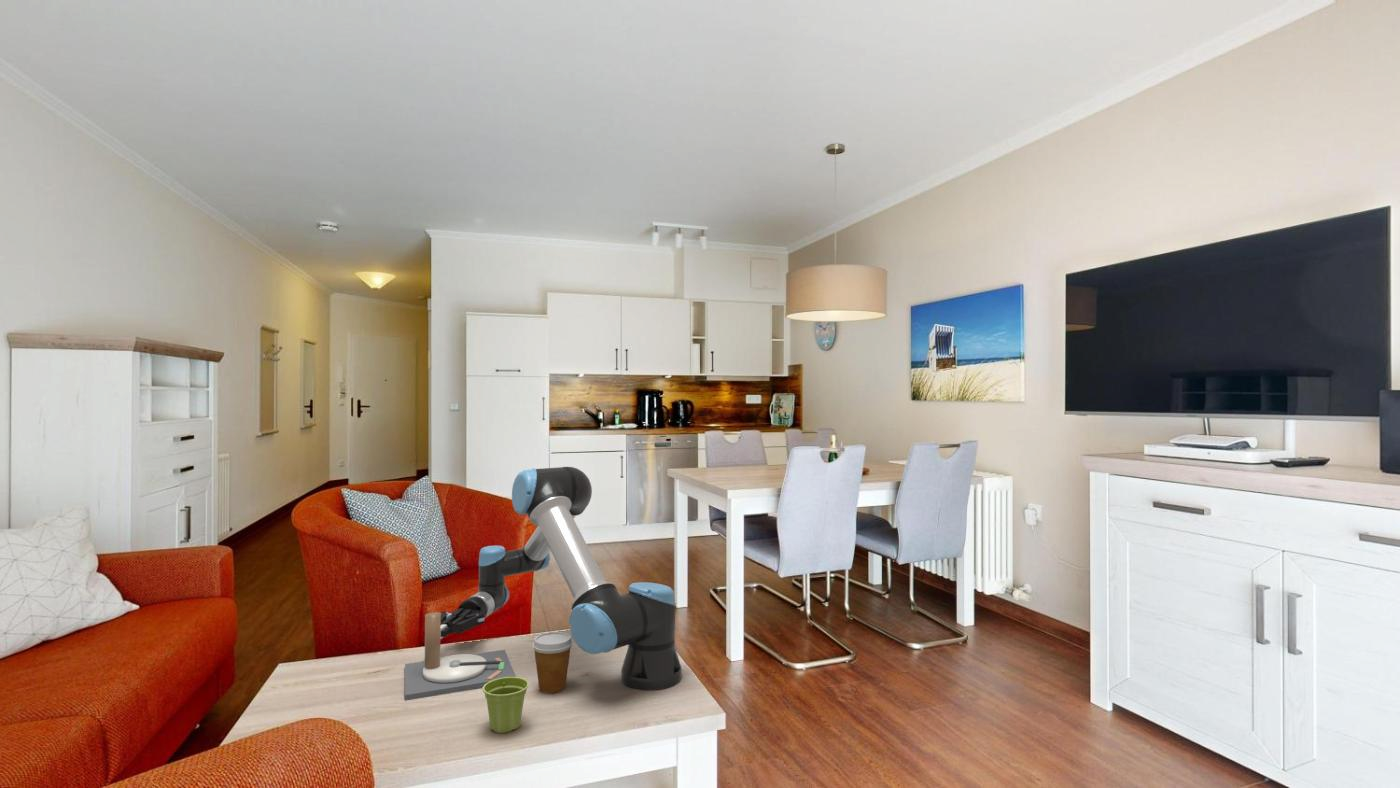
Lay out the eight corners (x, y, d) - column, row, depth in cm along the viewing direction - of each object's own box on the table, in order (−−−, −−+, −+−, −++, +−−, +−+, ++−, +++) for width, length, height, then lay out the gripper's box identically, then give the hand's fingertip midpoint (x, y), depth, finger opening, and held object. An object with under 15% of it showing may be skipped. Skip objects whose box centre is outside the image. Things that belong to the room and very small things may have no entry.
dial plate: (516, 682, 161) (516, 675, 161) (405, 700, 151) (405, 693, 151) (504, 653, 180) (504, 648, 180) (405, 668, 169) (405, 662, 169)
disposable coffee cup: (577, 680, 162) (577, 632, 163) (565, 697, 153) (565, 646, 153) (539, 678, 163) (540, 630, 163) (526, 695, 154) (526, 644, 154)
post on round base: (502, 667, 167) (502, 611, 167) (451, 689, 154) (452, 628, 154) (461, 654, 175) (461, 601, 176) (410, 673, 163) (410, 616, 163)
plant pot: (488, 716, 143) (488, 676, 143) (531, 715, 144) (532, 675, 144) (477, 738, 134) (477, 695, 134) (523, 736, 135) (524, 694, 135)
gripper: (496, 623, 189) (454, 655, 165) (454, 620, 191) (407, 651, 167) (497, 597, 189) (455, 625, 165) (455, 594, 191) (408, 622, 167)
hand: (431, 638), depth 166 cm, fingers closed
